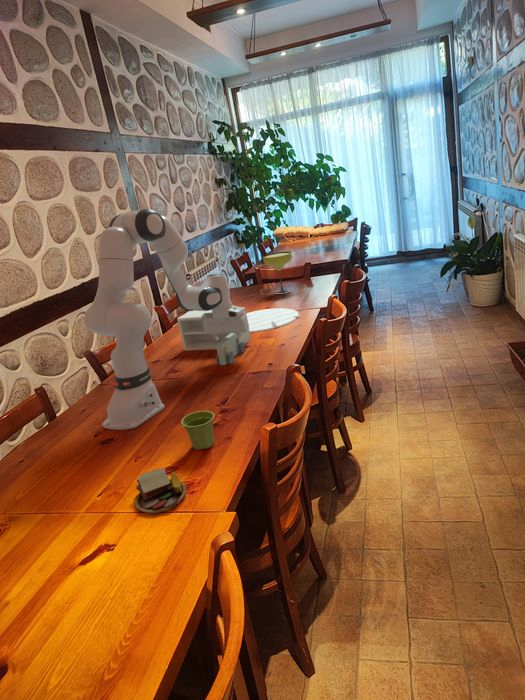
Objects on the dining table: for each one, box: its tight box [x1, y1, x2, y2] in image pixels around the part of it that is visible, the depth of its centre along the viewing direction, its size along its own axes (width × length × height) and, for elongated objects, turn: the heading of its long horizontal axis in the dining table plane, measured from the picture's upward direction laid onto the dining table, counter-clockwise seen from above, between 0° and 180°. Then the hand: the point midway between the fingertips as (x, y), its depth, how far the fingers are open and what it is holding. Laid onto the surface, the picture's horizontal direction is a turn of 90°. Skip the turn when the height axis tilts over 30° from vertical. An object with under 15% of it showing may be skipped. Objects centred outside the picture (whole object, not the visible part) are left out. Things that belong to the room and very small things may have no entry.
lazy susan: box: [246, 307, 301, 333], centre depth 251 cm, size 40×39×3 cm
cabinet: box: [176, 306, 252, 351], centre depth 221 cm, size 12×30×16 cm, turn 69°
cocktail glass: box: [262, 251, 293, 293], centre depth 302 cm, size 18×18×25 cm
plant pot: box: [180, 410, 215, 451], centre depth 135 cm, size 9×9×9 cm
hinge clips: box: [215, 342, 246, 366], centre depth 202 cm, size 16×6×4 cm, turn 159°
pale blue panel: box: [216, 333, 241, 366], centre depth 201 cm, size 18×4×9 cm, turn 159°
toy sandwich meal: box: [134, 468, 187, 514], centre depth 115 cm, size 12×14×5 cm
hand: (228, 342), depth 201 cm, fingers open, 8 cm apart
